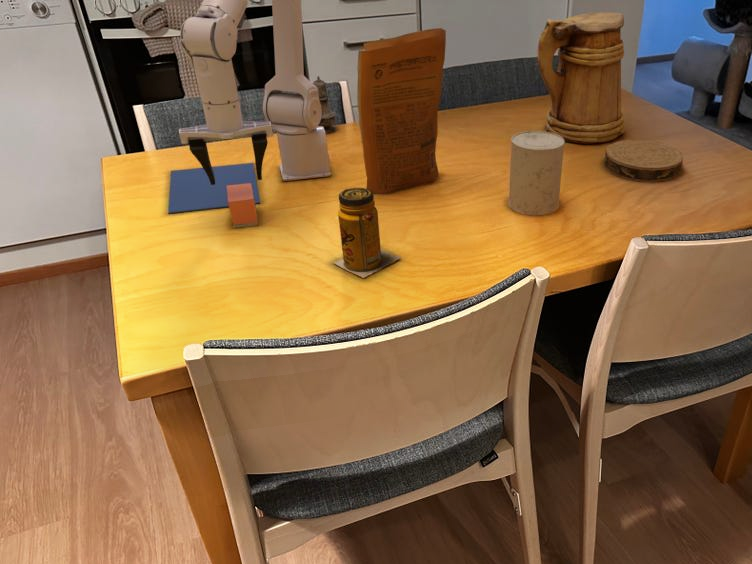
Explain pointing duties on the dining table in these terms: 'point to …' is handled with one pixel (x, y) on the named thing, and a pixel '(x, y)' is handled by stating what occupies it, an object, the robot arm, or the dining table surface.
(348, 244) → the condiment
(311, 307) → the dining table surface
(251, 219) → the orange rectangular block
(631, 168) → the brown round disc
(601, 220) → the dining table surface
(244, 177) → the cloth
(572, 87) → the tankard
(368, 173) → the pancake mix bag
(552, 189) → the grey stone cylinder
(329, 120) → the grey pagoda figurine
